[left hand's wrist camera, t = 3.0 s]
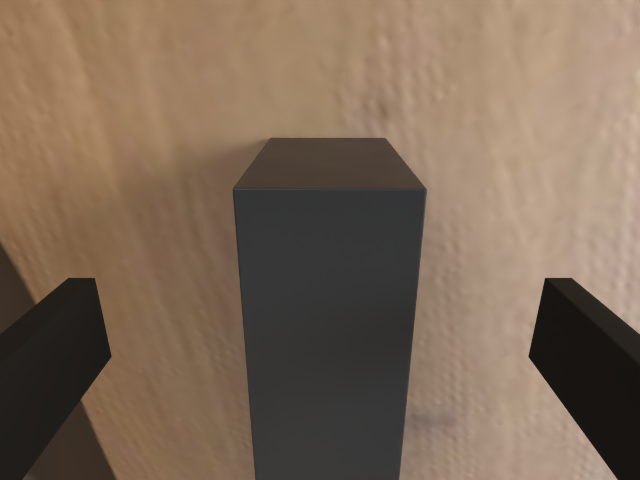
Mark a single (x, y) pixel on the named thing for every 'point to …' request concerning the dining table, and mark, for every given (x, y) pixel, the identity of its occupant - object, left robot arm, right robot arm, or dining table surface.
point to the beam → (328, 304)
